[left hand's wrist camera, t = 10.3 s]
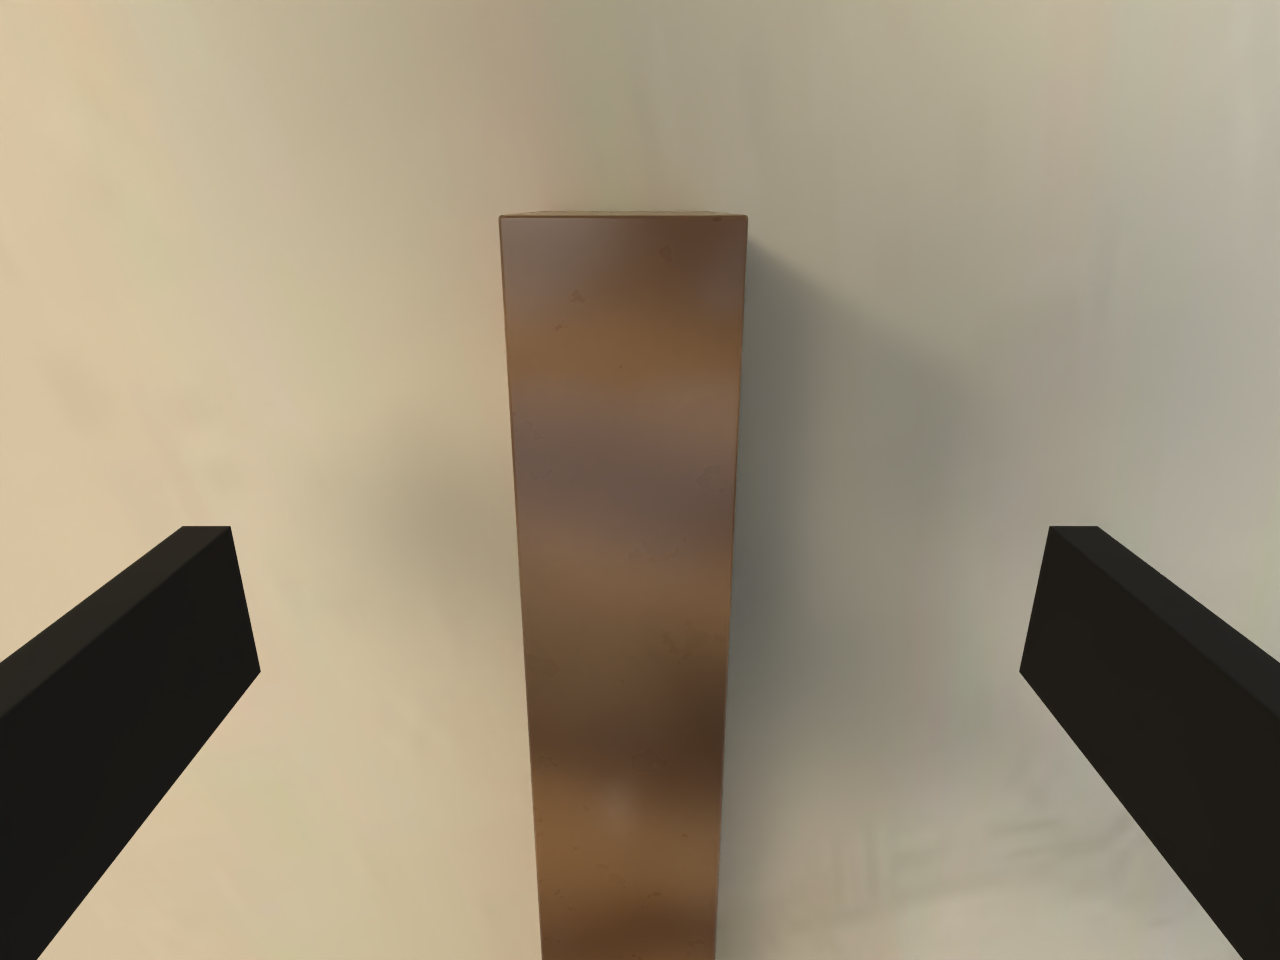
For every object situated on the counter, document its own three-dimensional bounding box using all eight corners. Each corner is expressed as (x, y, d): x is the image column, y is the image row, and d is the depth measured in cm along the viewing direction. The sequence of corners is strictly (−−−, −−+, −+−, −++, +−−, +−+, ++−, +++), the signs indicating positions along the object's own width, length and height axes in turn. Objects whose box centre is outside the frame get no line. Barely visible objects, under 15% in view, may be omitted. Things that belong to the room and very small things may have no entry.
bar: (539, 211, 25) (497, 215, 17) (708, 211, 25) (748, 214, 17) (581, 1231, 43) (571, 1471, 35) (680, 1229, 43) (692, 1468, 35)
